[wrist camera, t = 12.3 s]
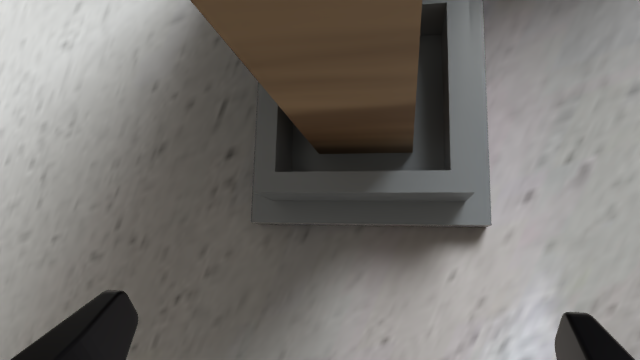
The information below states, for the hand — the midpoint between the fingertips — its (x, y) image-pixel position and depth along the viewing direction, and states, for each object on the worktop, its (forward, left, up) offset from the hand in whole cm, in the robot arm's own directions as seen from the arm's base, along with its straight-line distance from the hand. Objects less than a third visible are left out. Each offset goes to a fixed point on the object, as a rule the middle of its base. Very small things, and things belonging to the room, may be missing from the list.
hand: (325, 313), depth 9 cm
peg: (+7, 0, -9) cm, 12 cm away
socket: (+7, 0, -10) cm, 13 cm away
